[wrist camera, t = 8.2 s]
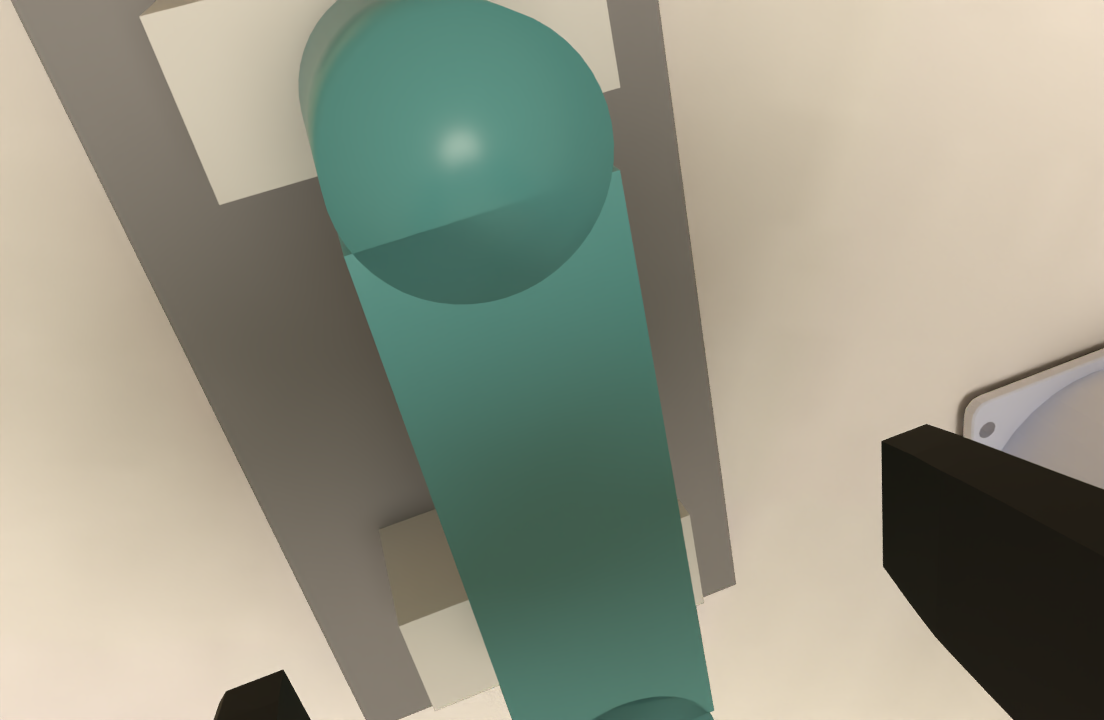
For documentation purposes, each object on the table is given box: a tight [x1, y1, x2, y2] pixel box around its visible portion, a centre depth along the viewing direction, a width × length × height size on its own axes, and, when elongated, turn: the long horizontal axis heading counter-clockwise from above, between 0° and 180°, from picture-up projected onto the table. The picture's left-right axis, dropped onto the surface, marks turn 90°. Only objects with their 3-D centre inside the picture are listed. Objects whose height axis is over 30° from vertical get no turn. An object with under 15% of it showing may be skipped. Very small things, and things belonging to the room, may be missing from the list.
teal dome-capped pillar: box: [298, 0, 714, 720], centre depth 13 cm, size 13×3×4 cm, turn 12°
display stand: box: [11, 0, 736, 720], centre depth 16 cm, size 20×10×4 cm, turn 12°
